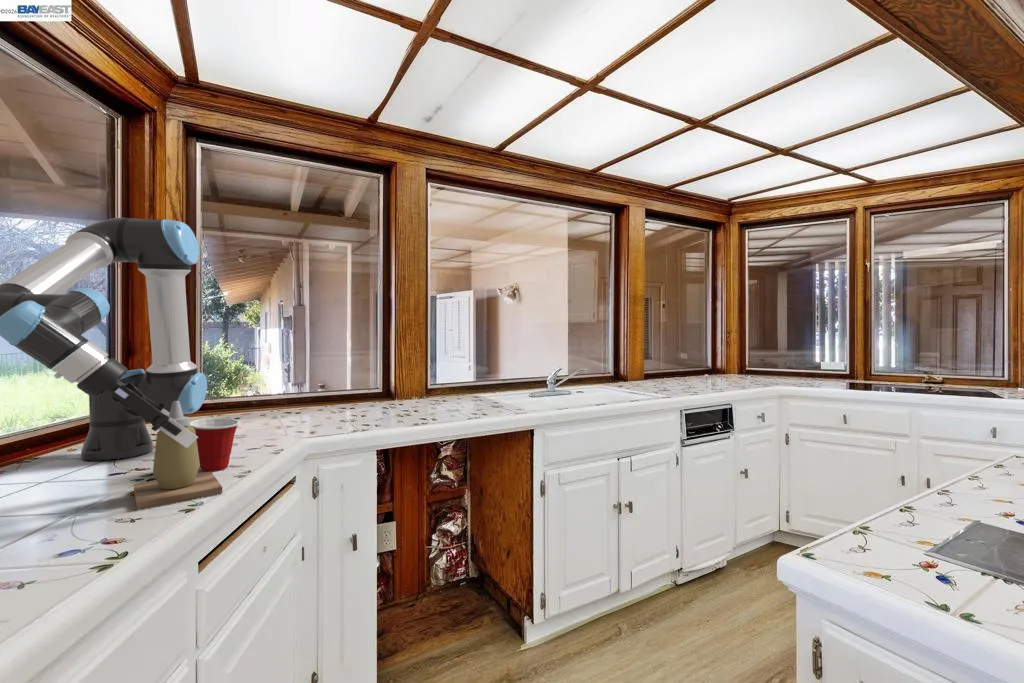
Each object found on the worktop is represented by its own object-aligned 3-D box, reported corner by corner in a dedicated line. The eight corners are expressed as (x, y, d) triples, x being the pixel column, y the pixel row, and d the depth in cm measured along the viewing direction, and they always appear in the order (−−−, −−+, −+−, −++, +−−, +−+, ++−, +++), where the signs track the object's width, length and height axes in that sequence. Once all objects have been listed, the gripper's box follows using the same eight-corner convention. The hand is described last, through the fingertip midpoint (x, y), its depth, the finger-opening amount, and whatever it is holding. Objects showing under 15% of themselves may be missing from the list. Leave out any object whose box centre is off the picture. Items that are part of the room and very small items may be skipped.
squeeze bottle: (163, 494, 92) (161, 405, 92) (146, 487, 96) (144, 402, 96) (207, 483, 99) (206, 400, 98) (189, 477, 103) (188, 397, 103)
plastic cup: (215, 476, 108) (215, 426, 108) (177, 473, 111) (176, 424, 110) (250, 463, 119) (250, 417, 119) (214, 461, 121) (214, 416, 121)
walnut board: (133, 491, 98) (133, 484, 98) (211, 477, 108) (211, 471, 107) (136, 510, 88) (136, 502, 88) (222, 493, 97) (222, 486, 97)
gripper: (76, 379, 96) (167, 440, 106) (69, 391, 77) (180, 463, 88) (110, 353, 99) (194, 414, 110) (111, 359, 81) (212, 432, 91)
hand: (188, 436), depth 99 cm, fingers open, 13 cm apart
